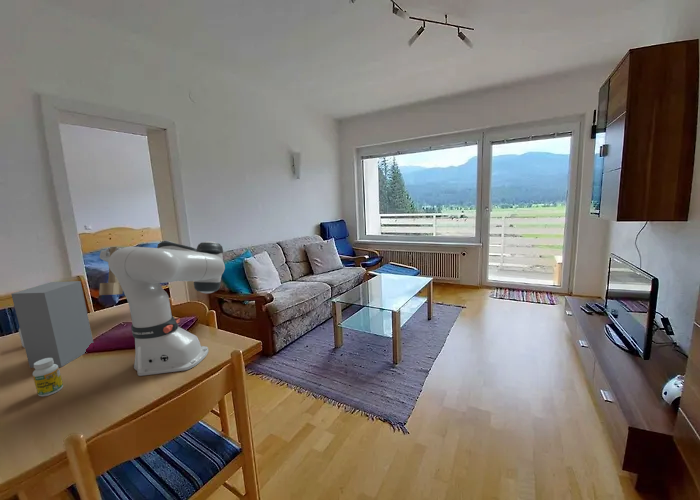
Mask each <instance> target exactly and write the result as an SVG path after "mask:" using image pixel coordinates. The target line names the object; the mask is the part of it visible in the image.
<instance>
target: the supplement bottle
mask: <svg viewBox="0 0 700 500" xmlns="http://www.w3.org/2000/svg"><path fill="white" fill-rule="evenodd" d="M53 363H54V361H53V358H45V359H42V360H39V361H37V362H35V363H34V368H33V369H34V370H33V371H32V377H33V381H34V385H35V389H36V392H37V395H38V396H39V397H47V396H51V395H53V394H56V393H58V392H60V391H61V390H62V389H63V387H64V383H63V381H62V375H61V371H60V367H58V365H57V364H53Z"/></svg>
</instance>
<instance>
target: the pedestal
mask: <svg viewBox="0 0 700 500" xmlns="http://www.w3.org/2000/svg"><path fill="white" fill-rule="evenodd" d="M82 286H83V285H82V281H81V280H80V281H79V280H75V281H74V280H73V281H71V280H70V281H50V282H47V283H43V284H40V285H36V286H33V287H29V288H25V289H23V290H22V289H21V290H19V291H16V292H12V293H11V298H12V302H13V306H14V309H15V314H16V318H17V321H18V326H19V328H20V330H21V334H22V338H23V342H24V346H25V347H24V348H25V349H24V350H25V353H26V354H25V355H26V358H27V362H28V365H29V368H30V369H31V368H33V369H35V368H34V363H35V362H37V361H39V360H42V359H45V358H53V361H54V363H53V364H57V365H58V367H59V368H63V367H64V366H66V365H67V364H69V363H71V362H73V361H74V360H76V359H77V358H79V357H81V356H83V355H84V354H86V353H87V352H86V349H87V348H88V347H89V345H90V344H91V343H94V339H93V335H92V334H93V333H92V330H91V325H90V321H89V316H88V309H87V305H86V299H85V295H84V291H83V287H82ZM85 352H86V353H85Z"/></svg>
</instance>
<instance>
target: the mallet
mask: <svg viewBox="0 0 700 500" xmlns="http://www.w3.org/2000/svg"><path fill="white" fill-rule="evenodd" d="M109 248H110V256H111V255H112V253H114V252H115V251H116V248H122V247H121V246H110V247H109ZM98 293H99V294H98V295H99V296H110V295H113V296H114V295H116V296H117V295H123V294H124V292H123V289H122V287H121V285H120V283H119V281H118V279H117V277H116V276H115V275H114V274H113V272H112V271H111V270H110V268H109V267H108V281H107V282H100V283H99V291H98Z"/></svg>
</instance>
